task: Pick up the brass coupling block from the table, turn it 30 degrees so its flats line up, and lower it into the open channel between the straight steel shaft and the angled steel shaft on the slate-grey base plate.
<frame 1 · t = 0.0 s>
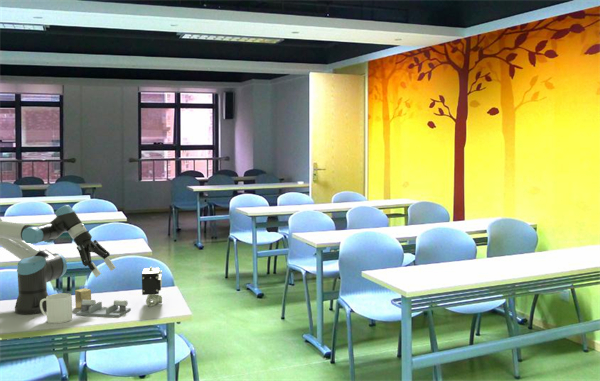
hand: (106, 272, 273), 15 cm above the table, tool tilted 35°, fingers open, 13 cm apart
coupling block: (83, 307, 271), on the table
ball valve: (153, 305, 274), on the table
shaft rig: (103, 312, 261), on the table
mug: (56, 320, 250), on the table
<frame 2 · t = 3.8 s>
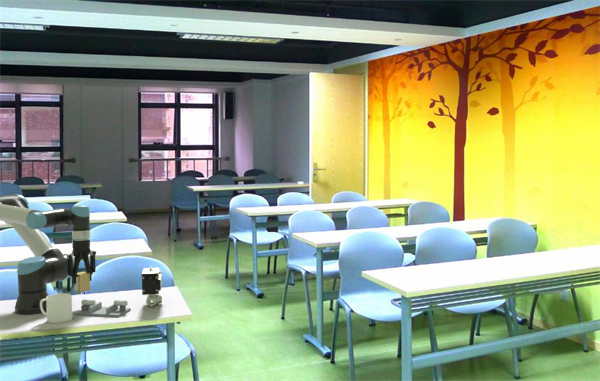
hand: (82, 289, 270), 8 cm above the table, tool pointing down, fingers closed on coupling block, 5 cm apart
coupling block: (82, 290, 270), point 8 cm above the table, touching gripper
everything else where it was.
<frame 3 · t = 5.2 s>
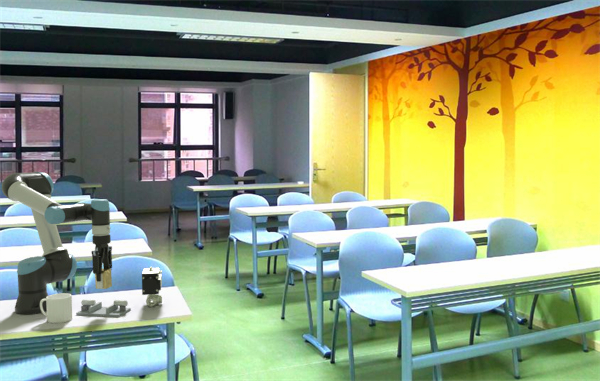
hand: (103, 286, 260), 12 cm above the table, tool pointing down, fingers closed on coupling block, 5 cm apart
coupling block: (103, 287, 260), point 11 cm above the table, touching gripper
everything else where it was.
when the fingers open (2 cm above the table, at t = 6.7 s): coupling block stays where it is, resting on shaft rig.
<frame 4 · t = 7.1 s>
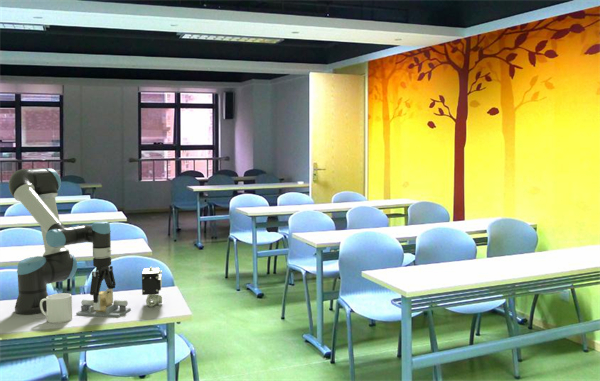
hand: (103, 306, 261), 3 cm above the table, tool pointing down, fingers open, 10 cm apart
coupling block: (104, 310, 261), point 1 cm above the table, touching shaft rig
everything else where it was.
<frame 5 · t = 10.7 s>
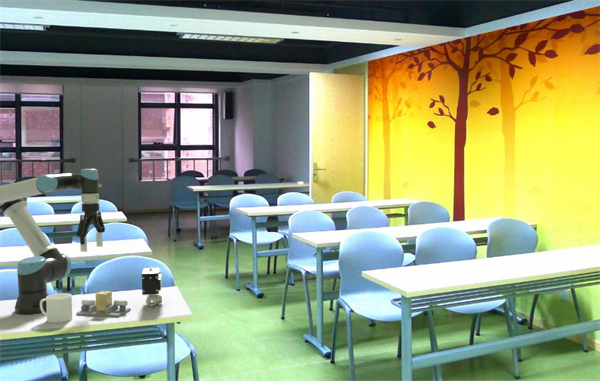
hand: (91, 249, 270), 27 cm above the table, tool pointing down, fingers open, 13 cm apart
nothing on the table moved.
at the end: coupling block 0.2 cm off-centre on the shaft rig, point 1.0 cm above the shaft rig's base; coupling block tilted 0°; the gripper is holding nothing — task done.
